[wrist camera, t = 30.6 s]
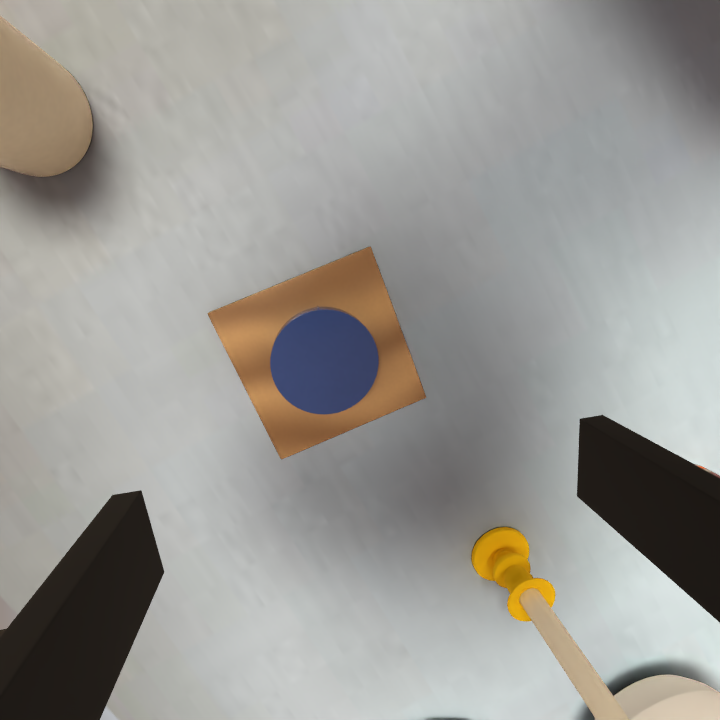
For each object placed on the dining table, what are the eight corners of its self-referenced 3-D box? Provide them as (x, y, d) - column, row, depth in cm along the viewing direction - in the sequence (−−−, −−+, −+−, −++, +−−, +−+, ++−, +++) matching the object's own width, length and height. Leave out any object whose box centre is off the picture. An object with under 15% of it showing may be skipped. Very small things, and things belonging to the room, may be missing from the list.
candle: (537, 543, 37) (700, 737, 22) (501, 586, 38) (634, 803, 23) (497, 516, 36) (639, 703, 21) (459, 561, 36) (572, 774, 21)
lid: (264, 311, 28) (261, 315, 27) (369, 299, 29) (373, 302, 27) (280, 412, 30) (278, 421, 28) (378, 398, 31) (383, 406, 29)
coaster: (208, 312, 28) (207, 313, 28) (369, 246, 29) (370, 246, 28) (281, 456, 32) (281, 460, 31) (424, 395, 32) (426, 397, 32)
